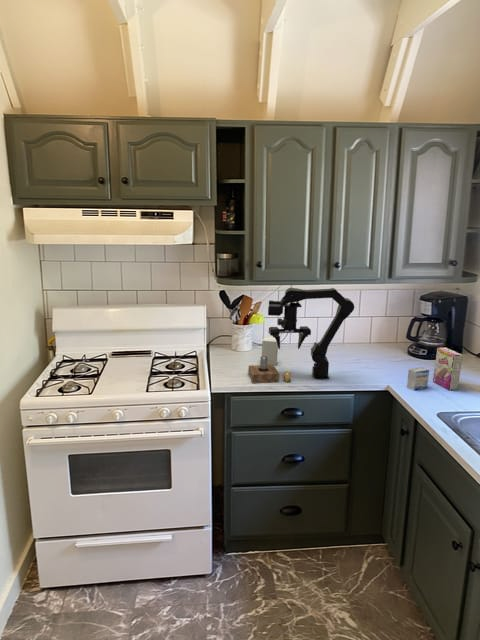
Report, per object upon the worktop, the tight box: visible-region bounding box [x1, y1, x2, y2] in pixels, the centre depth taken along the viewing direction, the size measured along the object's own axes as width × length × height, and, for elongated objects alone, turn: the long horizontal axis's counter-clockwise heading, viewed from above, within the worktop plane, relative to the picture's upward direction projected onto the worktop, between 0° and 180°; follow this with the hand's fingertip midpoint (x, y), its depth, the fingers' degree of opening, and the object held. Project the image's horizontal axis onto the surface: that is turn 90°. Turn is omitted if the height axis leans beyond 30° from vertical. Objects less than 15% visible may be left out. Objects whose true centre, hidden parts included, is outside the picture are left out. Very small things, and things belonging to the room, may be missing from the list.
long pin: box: [260, 355, 268, 371], centre depth 216 cm, size 3×3×10 cm
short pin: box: [283, 371, 292, 383], centre depth 213 cm, size 3×3×4 cm
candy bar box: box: [432, 346, 464, 391], centre depth 210 cm, size 11×5×16 cm, turn 17°
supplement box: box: [261, 336, 279, 367], centre depth 235 cm, size 7×7×13 cm
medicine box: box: [406, 366, 430, 391], centre depth 208 cm, size 8×4×9 cm, turn 114°
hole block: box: [247, 364, 280, 384], centre depth 216 cm, size 12×12×4 cm
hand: (288, 348), depth 217 cm, fingers open, 9 cm apart
